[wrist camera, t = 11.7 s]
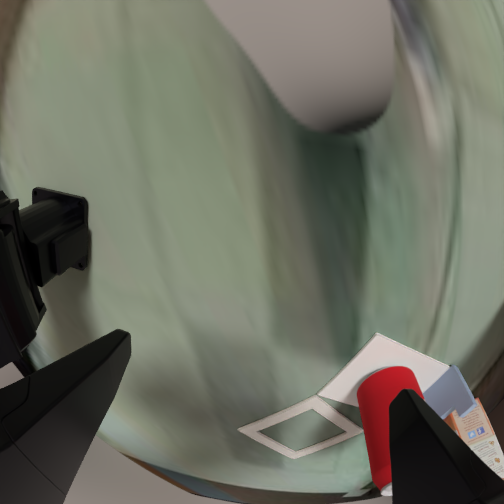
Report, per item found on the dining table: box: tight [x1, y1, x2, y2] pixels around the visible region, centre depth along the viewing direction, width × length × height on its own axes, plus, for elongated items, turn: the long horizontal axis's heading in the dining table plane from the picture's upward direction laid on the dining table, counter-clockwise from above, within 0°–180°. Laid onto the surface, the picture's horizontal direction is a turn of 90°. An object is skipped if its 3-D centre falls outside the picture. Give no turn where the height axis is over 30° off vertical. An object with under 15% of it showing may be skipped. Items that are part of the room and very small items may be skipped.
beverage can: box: [357, 366, 426, 496], centre depth 19 cm, size 6×6×12 cm
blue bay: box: [317, 332, 477, 419], centre depth 22 cm, size 13×10×6 cm
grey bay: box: [238, 394, 364, 459], centre depth 29 cm, size 11×11×1 cm
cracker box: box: [443, 398, 504, 480], centre depth 20 cm, size 14×6×21 cm, turn 11°
